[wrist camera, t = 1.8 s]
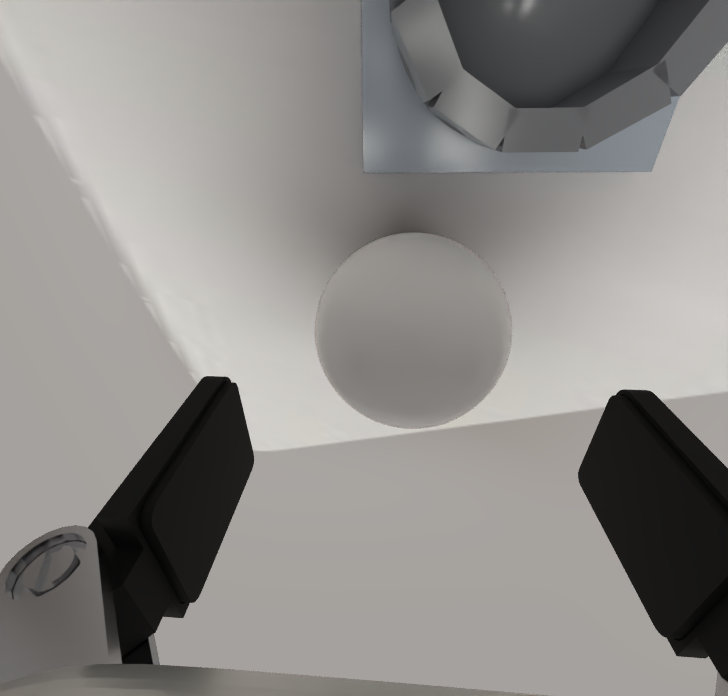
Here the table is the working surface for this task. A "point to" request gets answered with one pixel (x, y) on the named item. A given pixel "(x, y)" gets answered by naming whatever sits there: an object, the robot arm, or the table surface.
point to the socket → (528, 81)
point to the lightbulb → (413, 330)
